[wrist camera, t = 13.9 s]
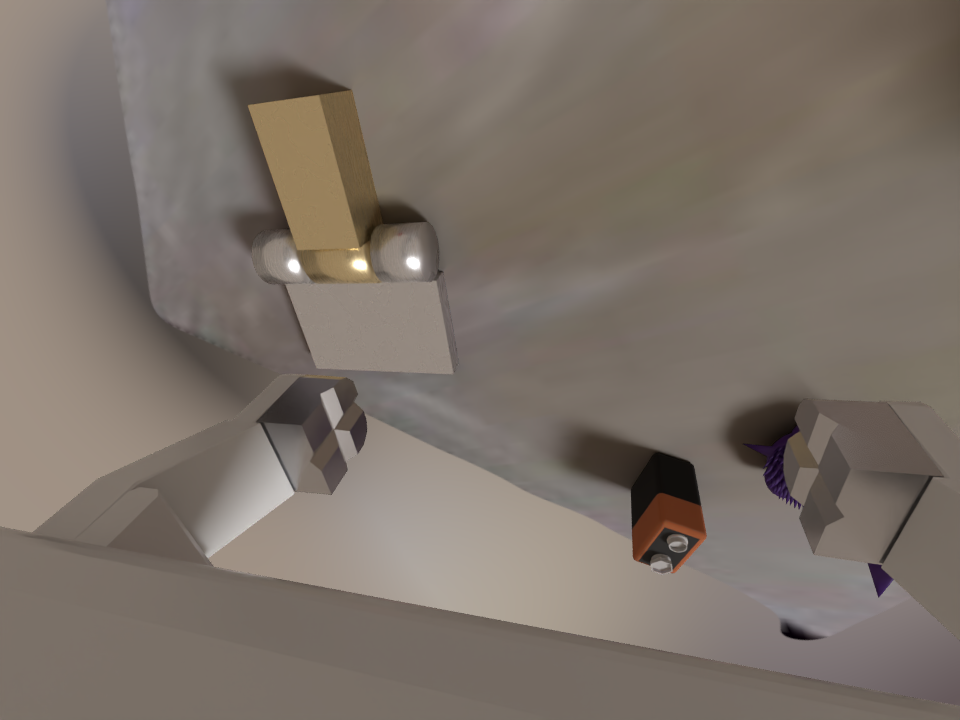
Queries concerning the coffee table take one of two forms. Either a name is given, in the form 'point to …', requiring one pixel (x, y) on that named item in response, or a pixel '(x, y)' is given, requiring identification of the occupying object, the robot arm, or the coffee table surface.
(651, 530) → the battery
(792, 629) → the coffee table surface
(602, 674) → the robot arm
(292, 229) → the gold bar
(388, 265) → the plate with metal balls
